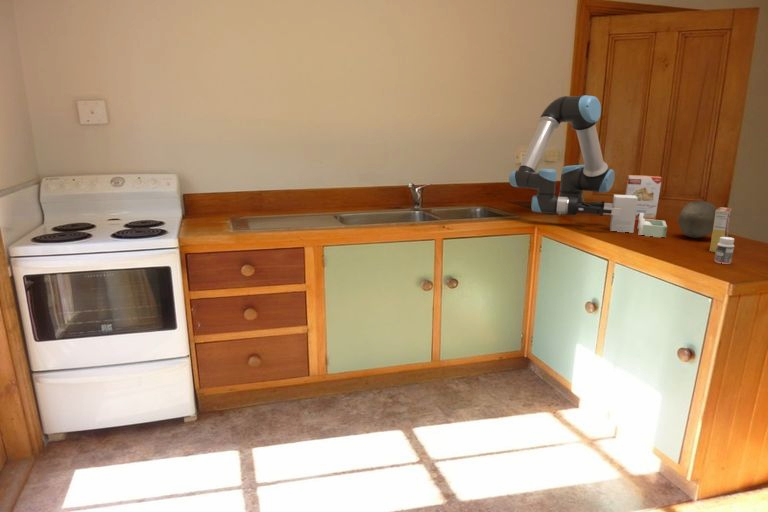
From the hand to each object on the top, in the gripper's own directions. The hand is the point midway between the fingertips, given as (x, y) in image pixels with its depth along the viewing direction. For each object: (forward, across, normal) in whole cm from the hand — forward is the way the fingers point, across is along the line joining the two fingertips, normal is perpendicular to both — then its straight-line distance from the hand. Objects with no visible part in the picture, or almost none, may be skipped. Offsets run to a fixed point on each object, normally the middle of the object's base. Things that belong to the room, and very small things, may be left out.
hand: (620, 209), depth 216 cm
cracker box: (+9, -31, -9) cm, 34 cm away
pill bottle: (+32, +42, -9) cm, 53 cm away
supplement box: (+1, 0, -9) cm, 9 cm away
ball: (+10, +1, -6) cm, 12 cm away
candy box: (+33, +23, -9) cm, 41 cm away
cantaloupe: (+28, +4, -9) cm, 30 cm away
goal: (+13, 0, -9) cm, 15 cm away
